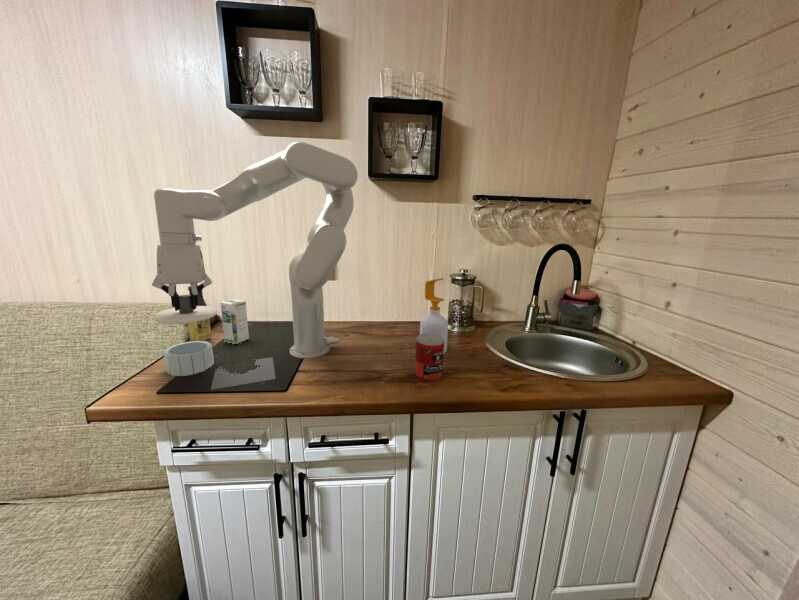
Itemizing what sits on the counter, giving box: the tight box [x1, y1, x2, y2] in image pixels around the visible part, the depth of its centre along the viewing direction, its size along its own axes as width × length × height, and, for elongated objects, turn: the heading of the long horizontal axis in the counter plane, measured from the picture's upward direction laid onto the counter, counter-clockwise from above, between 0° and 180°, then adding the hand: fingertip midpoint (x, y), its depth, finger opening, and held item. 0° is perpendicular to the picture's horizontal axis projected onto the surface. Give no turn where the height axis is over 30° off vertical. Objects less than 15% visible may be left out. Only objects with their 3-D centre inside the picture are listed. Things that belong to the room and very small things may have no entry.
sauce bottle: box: [187, 284, 212, 343], centre depth 106 cm, size 6×6×20 cm
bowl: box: [163, 341, 215, 377], centre depth 89 cm, size 11×11×6 cm
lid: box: [153, 294, 218, 325], centre depth 85 cm, size 14×14×6 cm
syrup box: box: [220, 299, 250, 345], centre depth 109 cm, size 6×6×14 cm
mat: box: [210, 356, 276, 391], centre depth 88 cm, size 15×15×1 cm
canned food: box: [414, 333, 445, 382], centre depth 88 cm, size 8×8×11 cm
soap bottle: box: [419, 278, 449, 354], centre depth 104 cm, size 9×9×25 cm
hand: (186, 308), depth 86 cm, fingers closed on lid, 3 cm apart
